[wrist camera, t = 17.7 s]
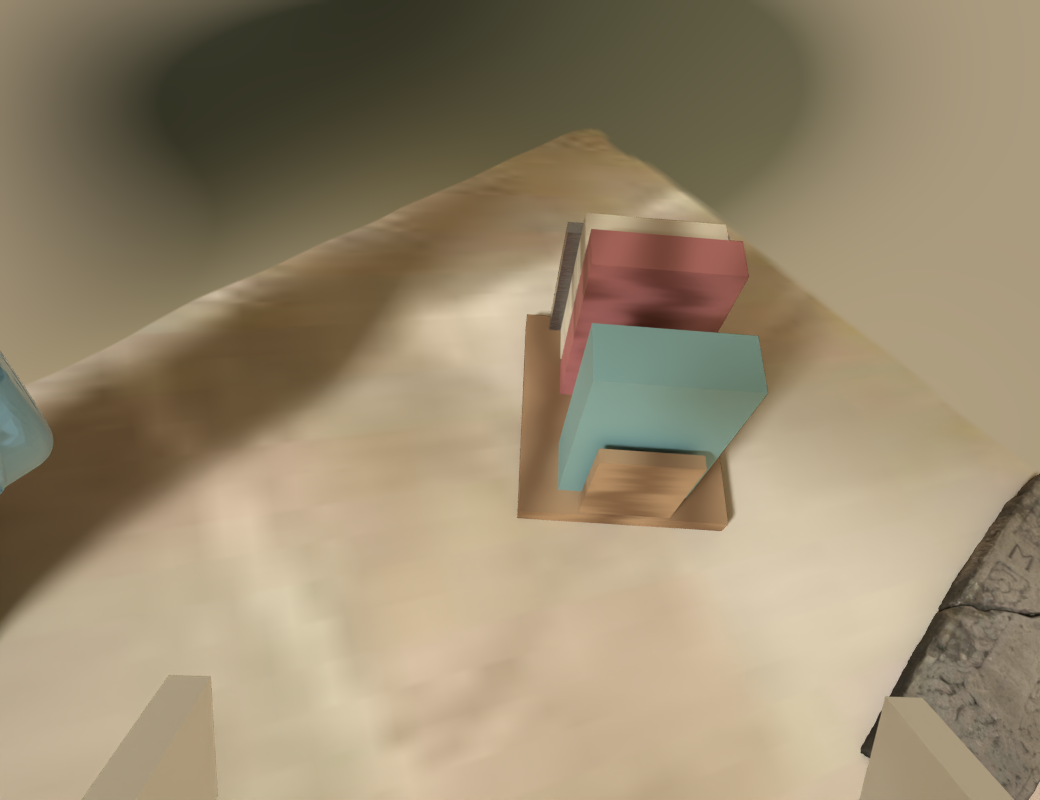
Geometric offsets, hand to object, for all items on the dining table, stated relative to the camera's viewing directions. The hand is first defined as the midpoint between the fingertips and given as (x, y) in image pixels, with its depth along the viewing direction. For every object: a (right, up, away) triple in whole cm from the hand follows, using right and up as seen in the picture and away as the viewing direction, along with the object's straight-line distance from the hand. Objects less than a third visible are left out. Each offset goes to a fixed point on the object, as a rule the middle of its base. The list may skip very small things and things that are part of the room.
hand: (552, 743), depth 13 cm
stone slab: (+36, -11, +37) cm, 53 cm away
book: (+7, +1, +39) cm, 40 cm away
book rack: (+8, +6, +44) cm, 45 cm away
